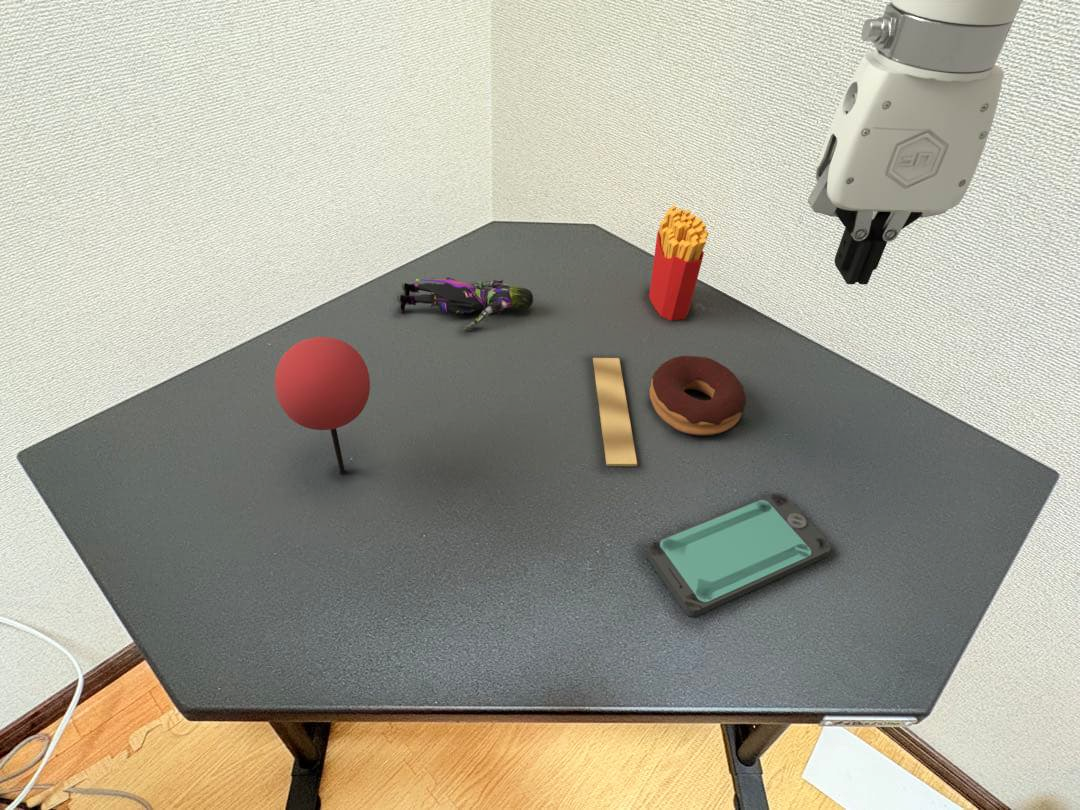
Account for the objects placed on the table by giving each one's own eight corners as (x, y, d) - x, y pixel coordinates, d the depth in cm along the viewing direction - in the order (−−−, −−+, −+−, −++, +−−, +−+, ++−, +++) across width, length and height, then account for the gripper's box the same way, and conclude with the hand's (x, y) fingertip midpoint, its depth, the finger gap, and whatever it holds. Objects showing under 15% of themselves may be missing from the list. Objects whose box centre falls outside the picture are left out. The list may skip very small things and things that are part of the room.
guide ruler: (636, 466, 71) (637, 463, 70) (606, 466, 71) (606, 463, 70) (619, 360, 82) (619, 357, 82) (592, 360, 82) (593, 357, 82)
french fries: (642, 288, 93) (656, 202, 85) (671, 285, 94) (687, 199, 85) (667, 328, 87) (684, 240, 79) (697, 324, 88) (718, 236, 79)
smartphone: (834, 547, 63) (692, 611, 58) (830, 555, 64) (689, 619, 59) (779, 487, 68) (643, 542, 63) (776, 496, 69) (641, 550, 64)
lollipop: (386, 496, 67) (365, 373, 57) (300, 508, 66) (263, 384, 55) (381, 437, 72) (361, 315, 62) (302, 447, 71) (268, 324, 61)
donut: (746, 446, 73) (755, 417, 70) (648, 437, 74) (654, 408, 71) (736, 380, 81) (744, 352, 78) (647, 372, 81) (652, 344, 78)
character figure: (395, 330, 85) (531, 334, 85) (390, 304, 83) (530, 307, 82) (410, 285, 92) (536, 288, 91) (406, 260, 90) (535, 262, 89)
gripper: (848, 55, 45) (774, 300, 58) (1080, 61, 46) (957, 302, 58) (812, 20, 51) (752, 250, 63) (1019, 26, 51) (919, 253, 64)
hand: (851, 275), depth 61 cm, fingers closed
